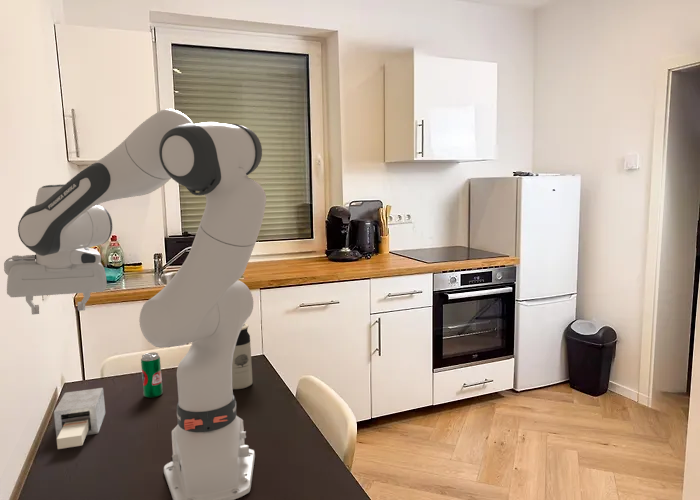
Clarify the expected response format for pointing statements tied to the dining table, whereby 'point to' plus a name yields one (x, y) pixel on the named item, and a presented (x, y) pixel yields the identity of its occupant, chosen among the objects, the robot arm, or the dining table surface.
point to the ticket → (73, 431)
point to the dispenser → (81, 409)
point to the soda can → (151, 375)
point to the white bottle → (242, 361)
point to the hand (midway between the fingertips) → (58, 311)
